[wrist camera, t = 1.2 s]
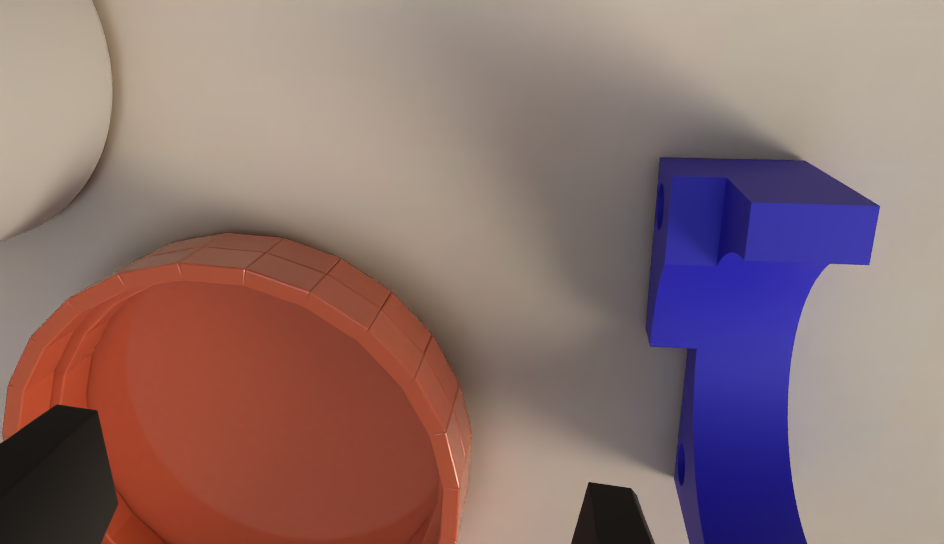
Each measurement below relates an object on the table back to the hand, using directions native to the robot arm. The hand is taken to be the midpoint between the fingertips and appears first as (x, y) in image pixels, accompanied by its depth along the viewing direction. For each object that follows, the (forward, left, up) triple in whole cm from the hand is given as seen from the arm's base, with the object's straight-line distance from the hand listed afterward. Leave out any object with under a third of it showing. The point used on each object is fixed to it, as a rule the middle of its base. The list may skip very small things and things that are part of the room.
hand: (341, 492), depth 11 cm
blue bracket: (-9, -2, -16) cm, 18 cm away
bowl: (+2, +11, -16) cm, 19 cm away
